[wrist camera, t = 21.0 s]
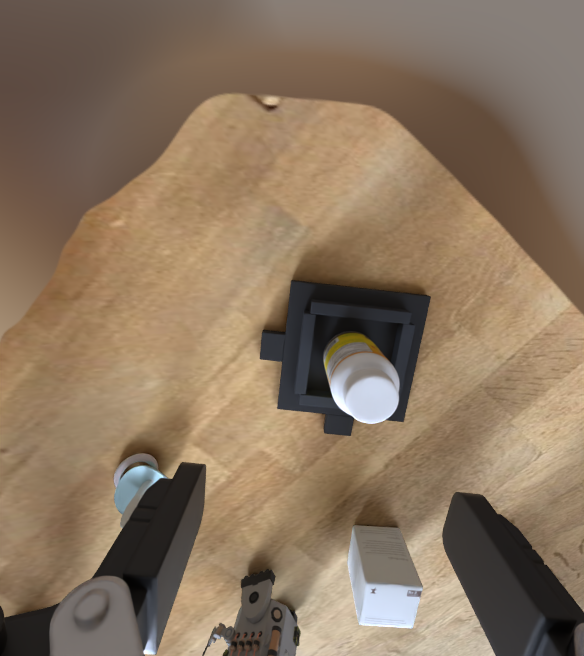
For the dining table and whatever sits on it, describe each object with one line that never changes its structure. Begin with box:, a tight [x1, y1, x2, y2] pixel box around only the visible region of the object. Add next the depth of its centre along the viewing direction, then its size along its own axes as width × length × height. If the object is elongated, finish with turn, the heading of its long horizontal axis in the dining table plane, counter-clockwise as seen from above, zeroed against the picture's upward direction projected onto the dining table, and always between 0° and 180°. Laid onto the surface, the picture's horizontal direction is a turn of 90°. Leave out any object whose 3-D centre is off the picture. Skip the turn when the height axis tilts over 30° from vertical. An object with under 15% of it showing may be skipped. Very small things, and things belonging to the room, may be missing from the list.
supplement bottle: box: [323, 331, 399, 424], centre depth 28 cm, size 6×6×10 cm
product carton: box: [347, 525, 423, 628], centre depth 37 cm, size 6×6×7 cm
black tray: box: [260, 280, 431, 436], centre depth 33 cm, size 16×16×2 cm
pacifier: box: [114, 453, 168, 528], centre depth 35 cm, size 7×6×6 cm
